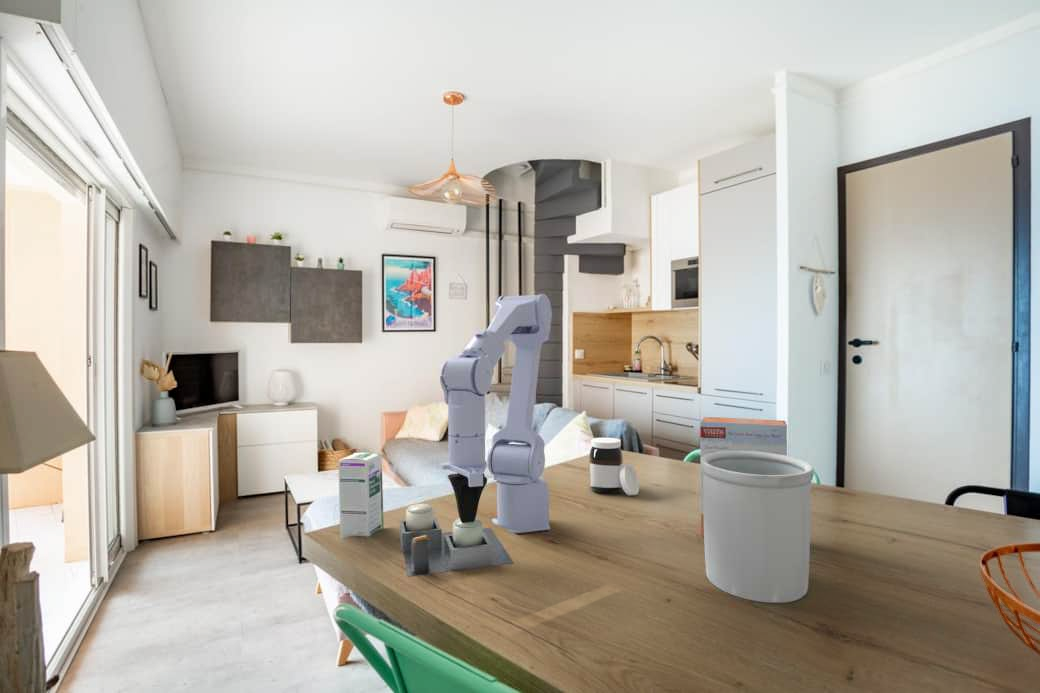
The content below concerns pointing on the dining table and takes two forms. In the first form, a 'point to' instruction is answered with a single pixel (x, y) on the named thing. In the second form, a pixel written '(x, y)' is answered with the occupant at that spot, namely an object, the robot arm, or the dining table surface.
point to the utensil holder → (757, 524)
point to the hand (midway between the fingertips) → (467, 520)
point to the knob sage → (467, 533)
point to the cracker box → (740, 439)
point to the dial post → (420, 554)
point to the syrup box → (360, 494)
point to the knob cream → (419, 517)
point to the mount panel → (453, 550)
